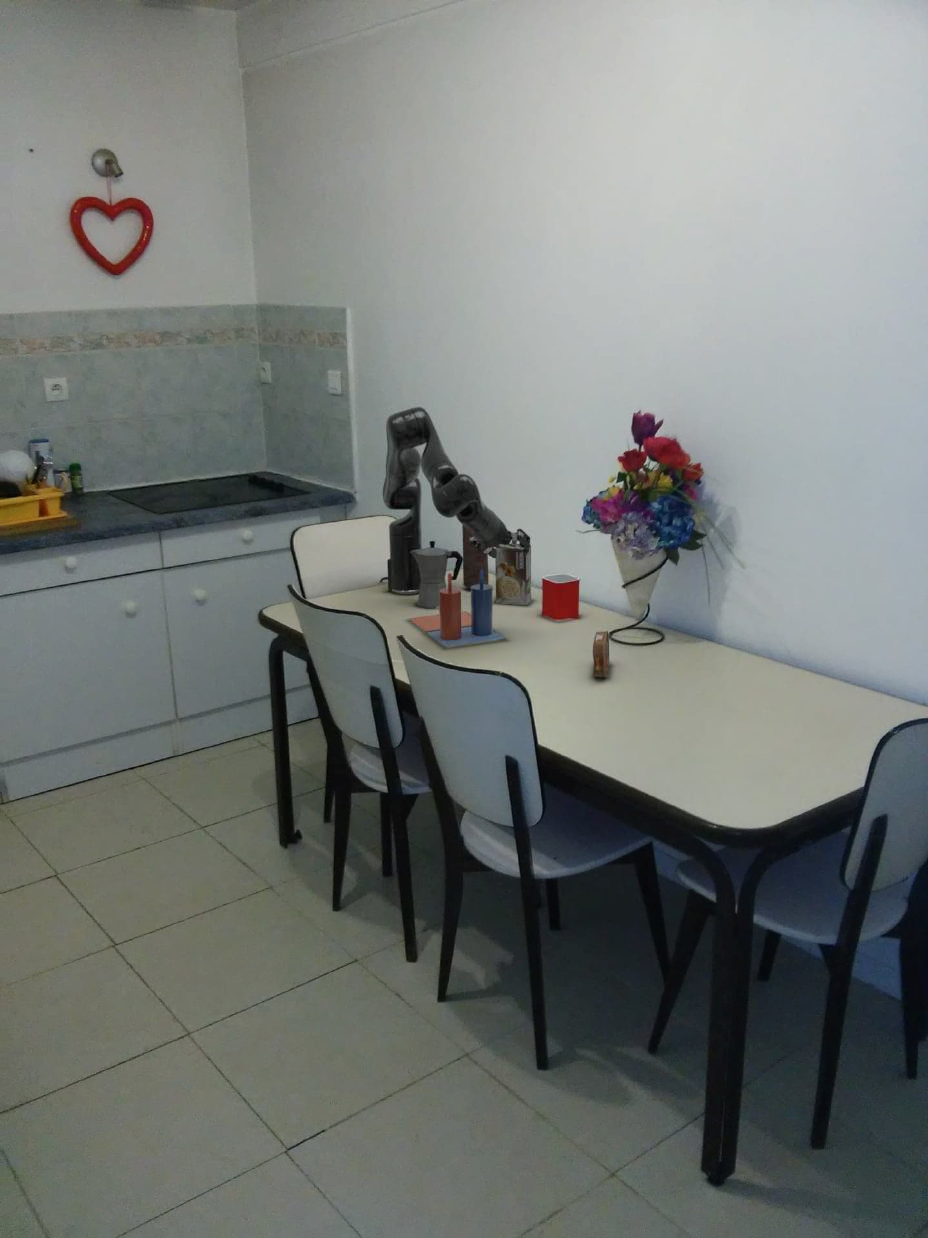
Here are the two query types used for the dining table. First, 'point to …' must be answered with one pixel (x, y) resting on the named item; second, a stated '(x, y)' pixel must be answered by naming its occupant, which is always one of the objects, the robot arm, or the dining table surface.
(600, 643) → the tin
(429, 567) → the coffeepot
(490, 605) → the blue spoon cup
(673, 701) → the dining table surface
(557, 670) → the dining table surface
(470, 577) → the candle
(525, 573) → the coffee box
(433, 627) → the board
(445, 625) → the terracotta spoon cup
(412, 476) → the robot arm
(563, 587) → the mug
